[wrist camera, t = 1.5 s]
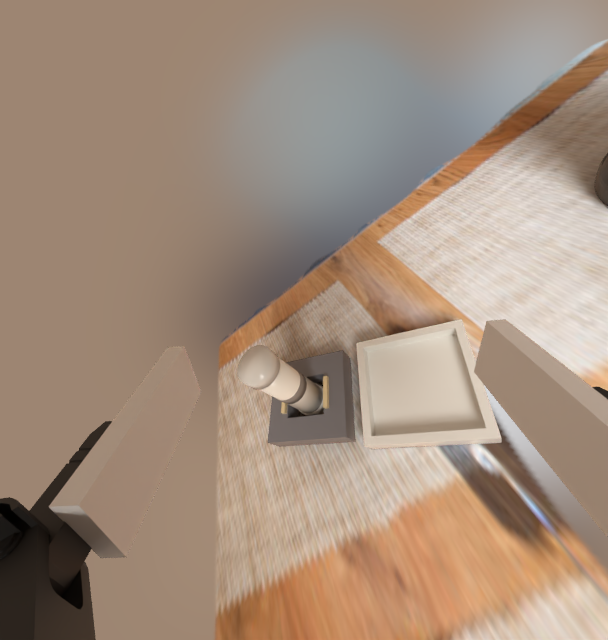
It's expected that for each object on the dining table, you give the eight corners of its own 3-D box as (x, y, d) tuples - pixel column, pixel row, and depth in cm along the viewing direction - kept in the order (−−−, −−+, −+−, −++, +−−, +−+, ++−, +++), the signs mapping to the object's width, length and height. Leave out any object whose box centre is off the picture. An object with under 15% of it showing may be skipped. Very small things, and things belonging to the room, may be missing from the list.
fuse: (302, 388, 45) (240, 349, 34) (329, 384, 43) (273, 341, 32) (301, 419, 42) (234, 387, 31) (330, 416, 40) (268, 381, 29)
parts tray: (362, 349, 43) (356, 342, 41) (463, 328, 37) (461, 319, 35) (370, 449, 35) (363, 445, 33) (501, 442, 29) (501, 438, 27)
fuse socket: (285, 371, 48) (273, 363, 46) (350, 358, 43) (340, 348, 41) (279, 446, 42) (265, 442, 39) (355, 441, 36) (344, 436, 34)
